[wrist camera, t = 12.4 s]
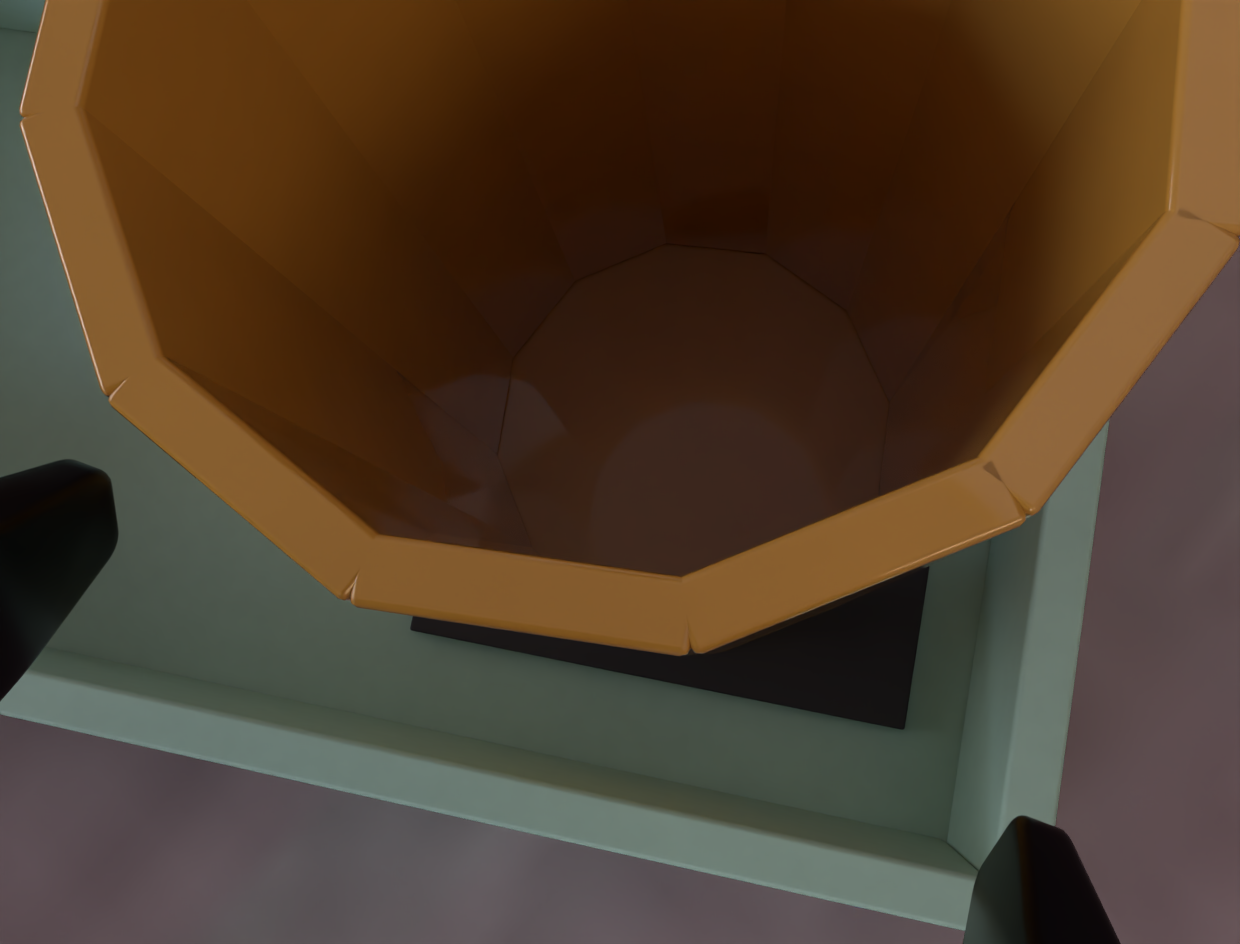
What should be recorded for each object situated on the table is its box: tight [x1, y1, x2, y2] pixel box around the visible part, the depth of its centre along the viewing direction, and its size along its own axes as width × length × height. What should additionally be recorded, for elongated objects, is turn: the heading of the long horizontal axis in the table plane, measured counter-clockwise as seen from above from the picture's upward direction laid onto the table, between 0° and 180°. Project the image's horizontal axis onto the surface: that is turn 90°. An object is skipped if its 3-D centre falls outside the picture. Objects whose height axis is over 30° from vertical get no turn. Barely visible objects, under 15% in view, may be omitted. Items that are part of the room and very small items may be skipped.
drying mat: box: [410, 566, 930, 730], centre depth 18 cm, size 8×8×1 cm
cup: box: [19, 0, 1240, 656], centre depth 12 cm, size 7×7×12 cm
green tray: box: [0, 0, 1109, 931], centre depth 18 cm, size 21×12×4 cm, turn 79°
